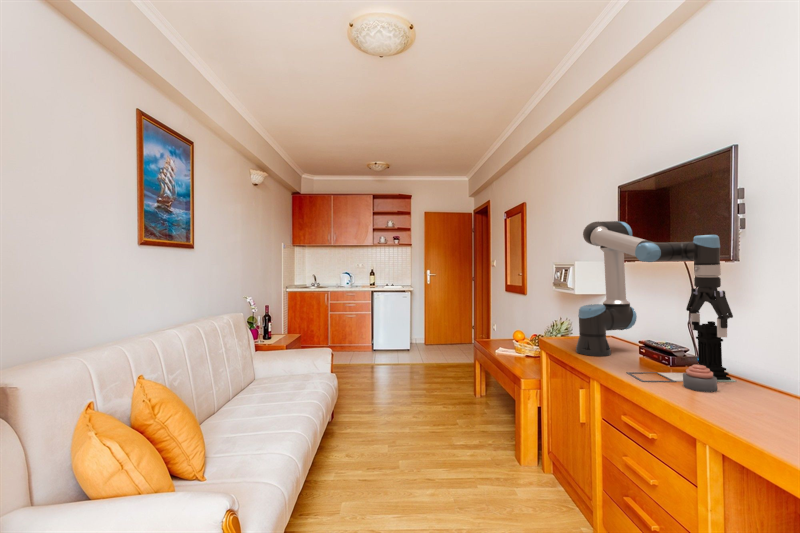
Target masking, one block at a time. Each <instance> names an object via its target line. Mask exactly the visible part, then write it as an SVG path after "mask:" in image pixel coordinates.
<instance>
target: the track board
mask: <svg viewBox="0 0 800 533" xmlns="http://www.w3.org/2000/svg"><path fill="white" fill-rule="evenodd" d="M625 373H626V374H627V375H629V376H630V377H633V378H635V379H636V380H637V381H640V382H641V383H677V382H678V383H679V382H680V383H681V382H682V383H683V373H684V372H651V371H649V372H648V371H646V372H645V371H644V372H641V371H639V372H638V371H637V372H634V371H627V372H625ZM643 373H657V375H658V374H659V375H658V376H660V375H661V376H660V377H662V376H663V377H662V378H664V377H665V379H666V380H643V379H641V378H639V377H638V376H636V375H637V374H640V375H642V374H643ZM634 374H635V375H634ZM717 383H737V380H735V379H733V378H731V380H717Z"/></svg>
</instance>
